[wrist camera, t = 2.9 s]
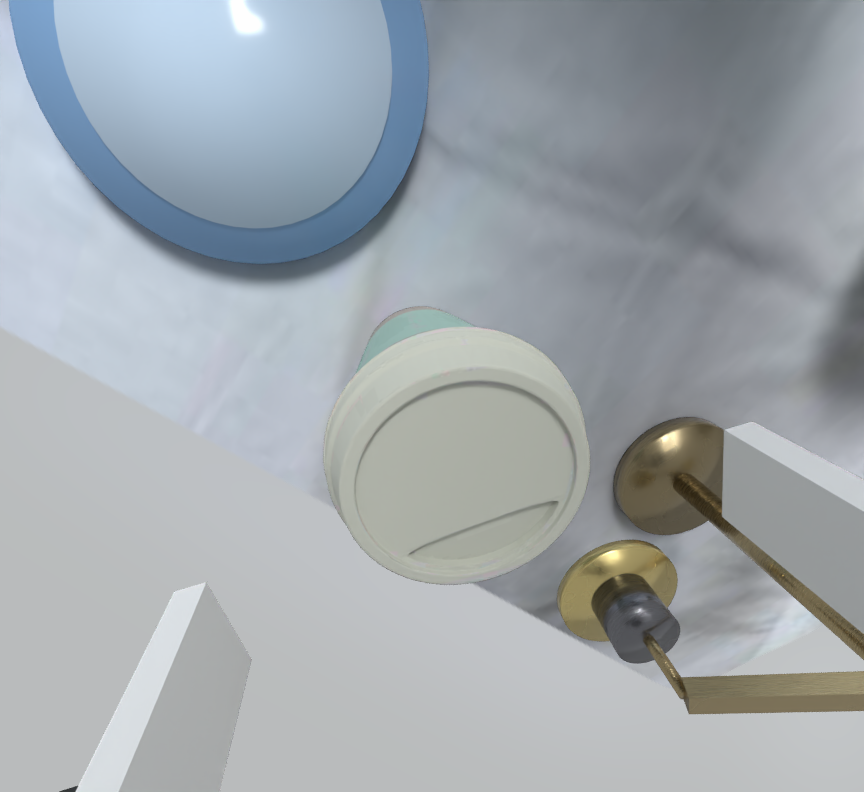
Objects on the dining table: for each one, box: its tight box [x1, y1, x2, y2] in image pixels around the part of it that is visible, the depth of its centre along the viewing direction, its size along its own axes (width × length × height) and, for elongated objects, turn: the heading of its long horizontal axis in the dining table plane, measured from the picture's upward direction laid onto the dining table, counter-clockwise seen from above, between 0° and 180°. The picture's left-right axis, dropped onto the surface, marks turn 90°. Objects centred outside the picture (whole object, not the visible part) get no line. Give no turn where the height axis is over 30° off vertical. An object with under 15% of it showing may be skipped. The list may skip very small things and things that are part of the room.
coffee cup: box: [323, 306, 590, 585], centre depth 19 cm, size 9×8×12 cm
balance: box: [557, 417, 864, 714], centre depth 22 cm, size 8×21×17 cm, turn 104°
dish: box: [9, 0, 429, 264], centre depth 18 cm, size 15×15×1 cm
